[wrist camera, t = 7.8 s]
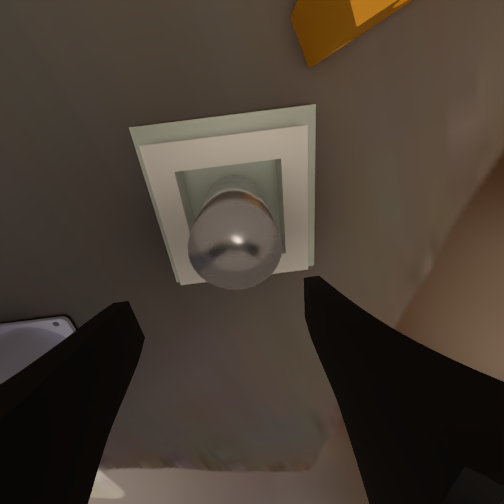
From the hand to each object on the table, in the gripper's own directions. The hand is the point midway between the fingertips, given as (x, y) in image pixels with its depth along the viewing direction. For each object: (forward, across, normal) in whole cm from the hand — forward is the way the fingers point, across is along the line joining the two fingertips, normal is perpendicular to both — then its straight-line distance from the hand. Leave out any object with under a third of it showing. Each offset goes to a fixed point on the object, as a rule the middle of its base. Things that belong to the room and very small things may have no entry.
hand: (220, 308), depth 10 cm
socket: (+9, -1, -2) cm, 10 cm away
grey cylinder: (+8, -1, -2) cm, 9 cm away
